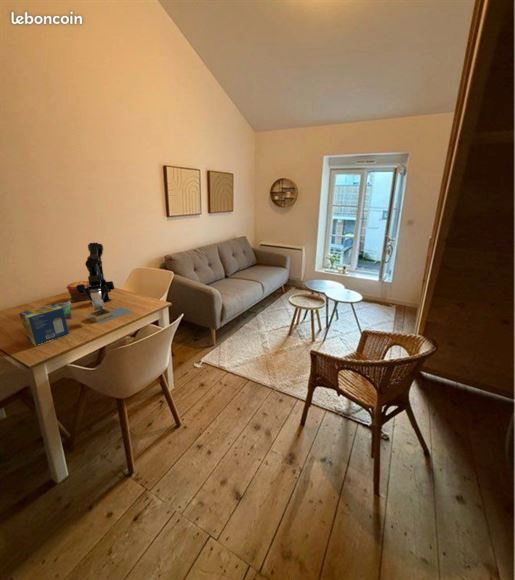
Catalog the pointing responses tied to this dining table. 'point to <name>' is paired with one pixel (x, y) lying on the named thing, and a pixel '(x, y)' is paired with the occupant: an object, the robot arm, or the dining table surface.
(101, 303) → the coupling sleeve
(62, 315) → the protein box
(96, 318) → the tan square tray
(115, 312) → the board
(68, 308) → the food container
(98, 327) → the dining table surface
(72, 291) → the food container
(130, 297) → the dining table surface
